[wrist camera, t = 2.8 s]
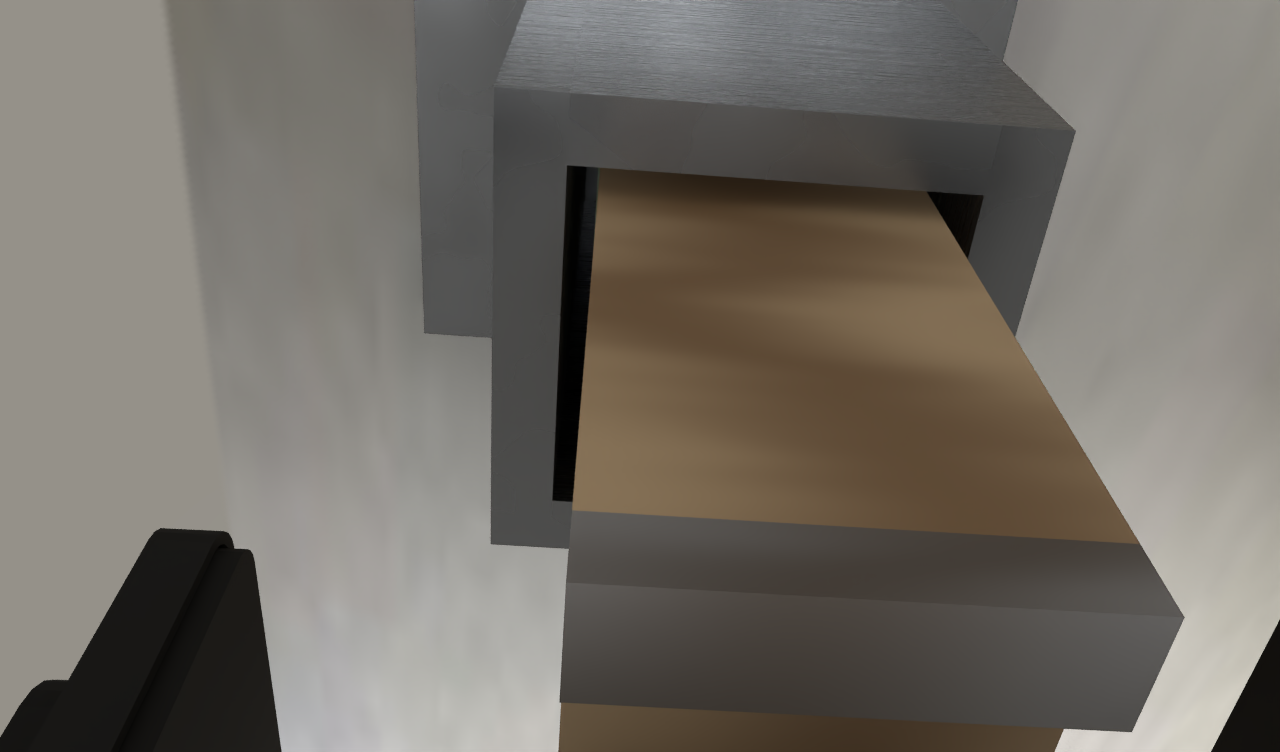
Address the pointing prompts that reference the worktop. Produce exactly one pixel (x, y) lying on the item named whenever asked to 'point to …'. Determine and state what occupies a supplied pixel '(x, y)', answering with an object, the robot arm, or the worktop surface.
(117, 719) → the robot arm
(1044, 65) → the worktop surface
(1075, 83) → the worktop surface
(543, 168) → the stand
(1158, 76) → the worktop surface
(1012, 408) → the column
